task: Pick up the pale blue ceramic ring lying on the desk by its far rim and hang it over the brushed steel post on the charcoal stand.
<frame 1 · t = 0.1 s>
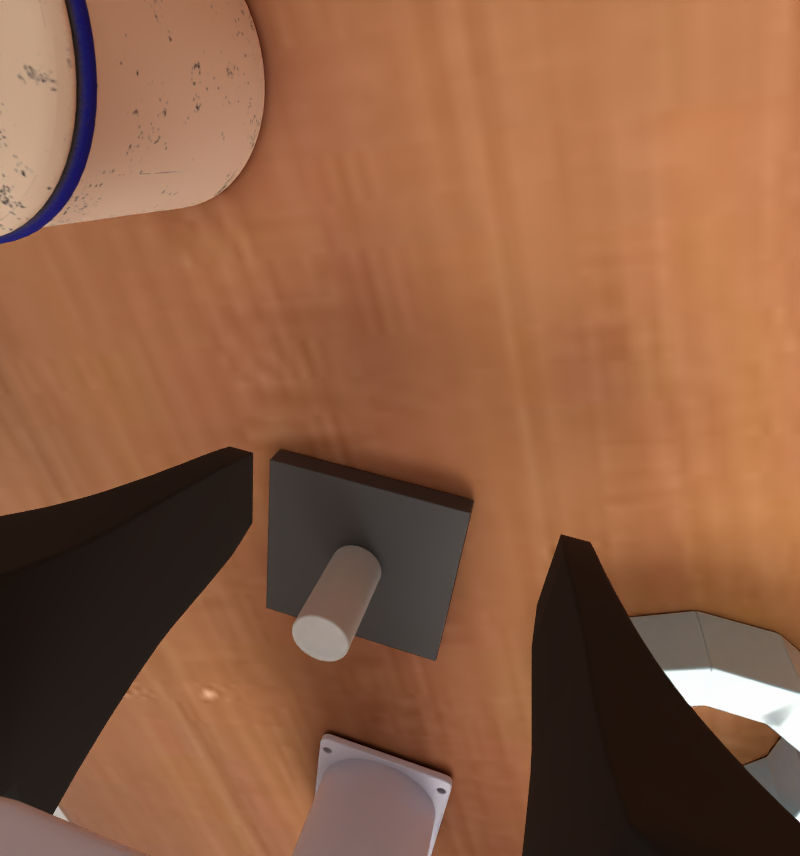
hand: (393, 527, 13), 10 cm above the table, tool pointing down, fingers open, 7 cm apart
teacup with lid: (128, 84, 20), on the table
stand: (363, 552, 27), on the table
ring: (683, 713, 26), on the table
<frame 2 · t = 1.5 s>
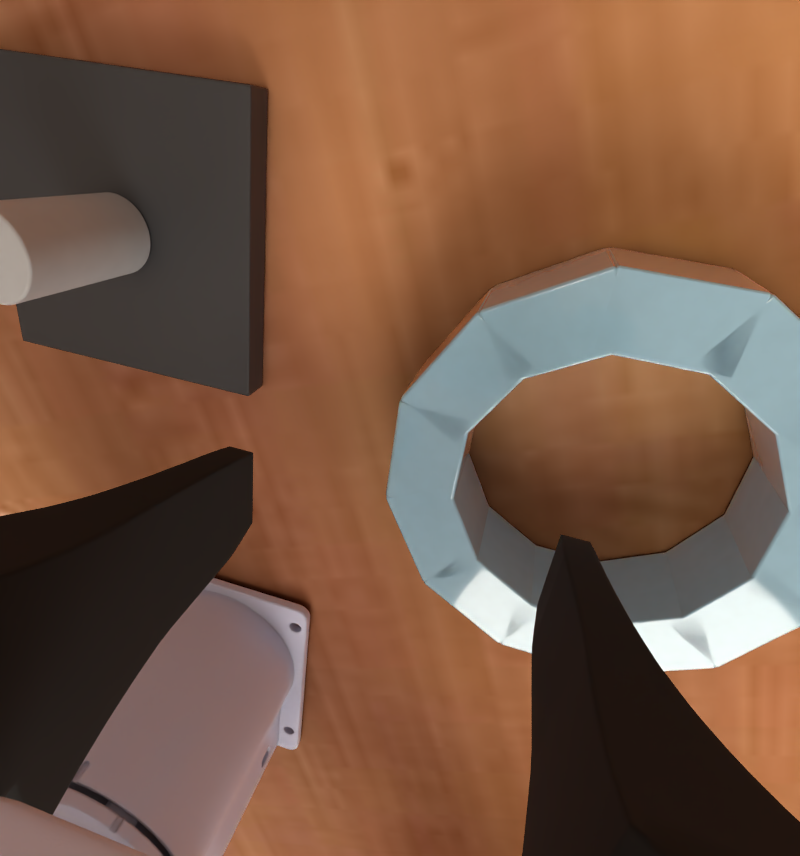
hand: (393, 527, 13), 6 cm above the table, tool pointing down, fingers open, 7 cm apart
stand: (139, 230, 18), on the table
ring: (601, 453, 17), on the table
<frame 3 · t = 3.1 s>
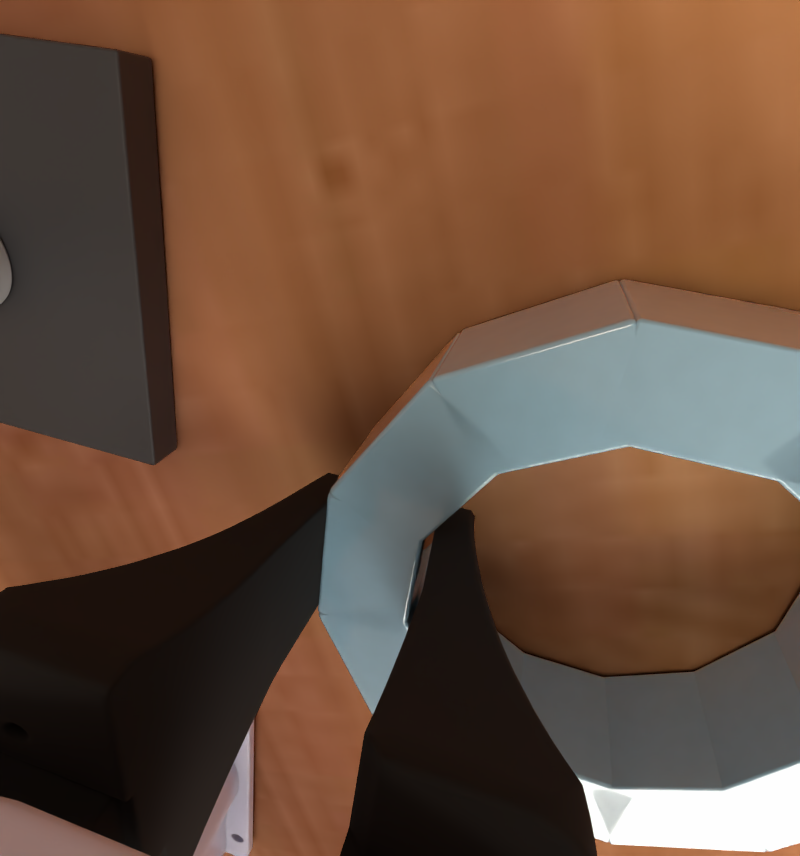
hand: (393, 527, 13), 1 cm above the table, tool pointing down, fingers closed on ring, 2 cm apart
stand: (7, 250, 14), on the table
ring: (609, 547, 13), on the table, touching gripper
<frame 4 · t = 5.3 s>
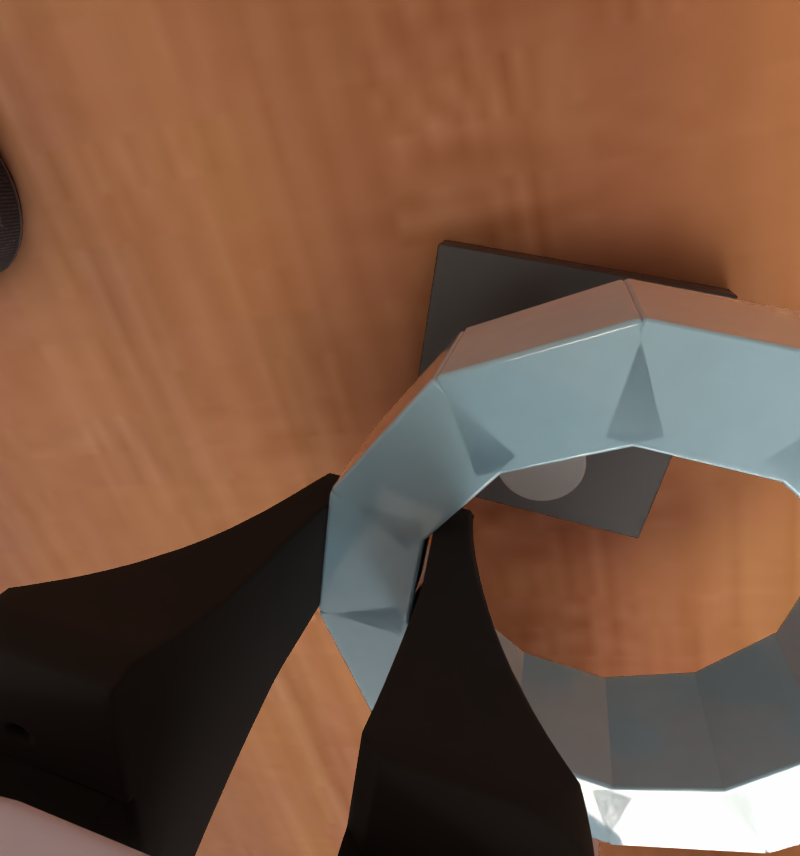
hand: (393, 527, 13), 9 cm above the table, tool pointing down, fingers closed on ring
stand: (546, 390, 20), on the table
ring: (611, 547, 13), point 8 cm above the table, touching gripper
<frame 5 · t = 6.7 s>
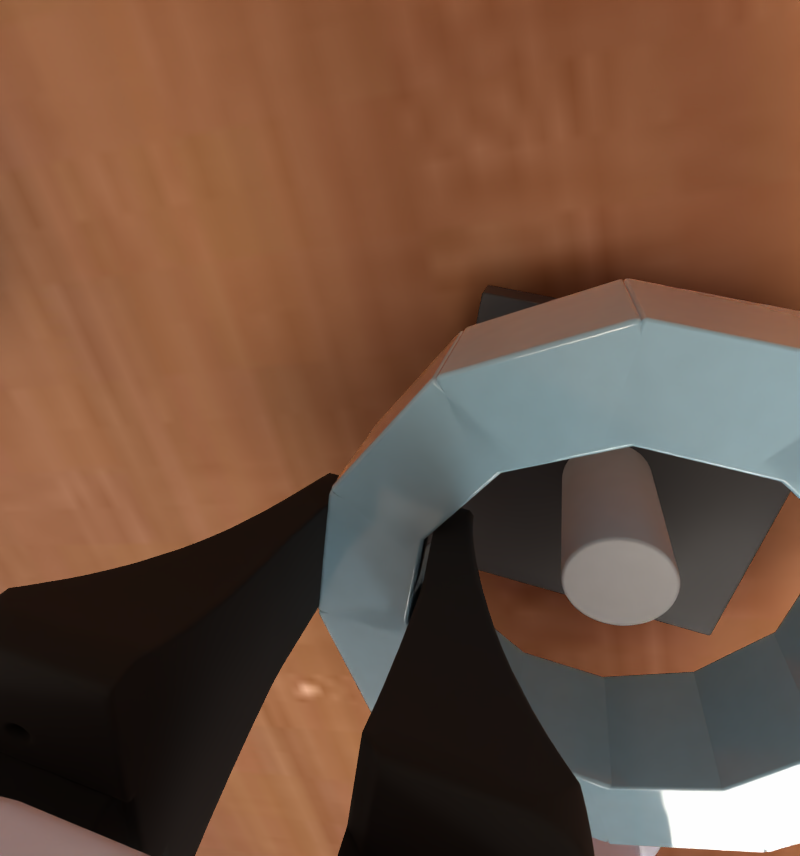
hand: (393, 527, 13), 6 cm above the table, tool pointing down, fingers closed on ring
stand: (603, 462, 17), on the table
ring: (610, 547, 13), point 4 cm above the table, touching gripper
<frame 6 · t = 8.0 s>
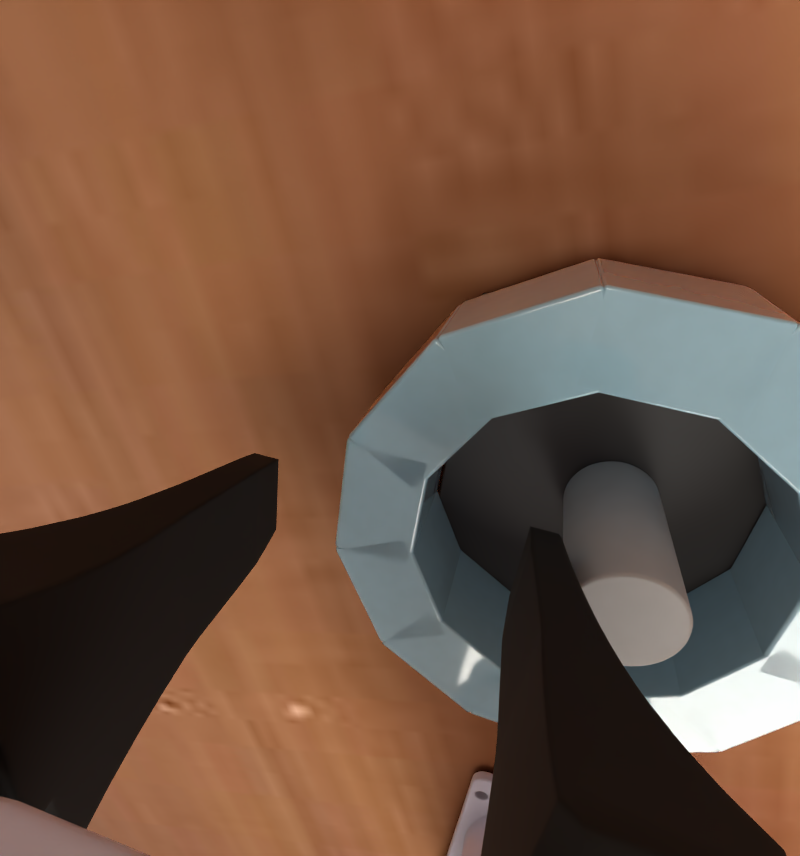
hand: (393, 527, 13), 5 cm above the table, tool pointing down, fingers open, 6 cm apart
stand: (607, 480, 16), on the table
ring: (588, 495, 15), point 1 cm above the table, touching stand
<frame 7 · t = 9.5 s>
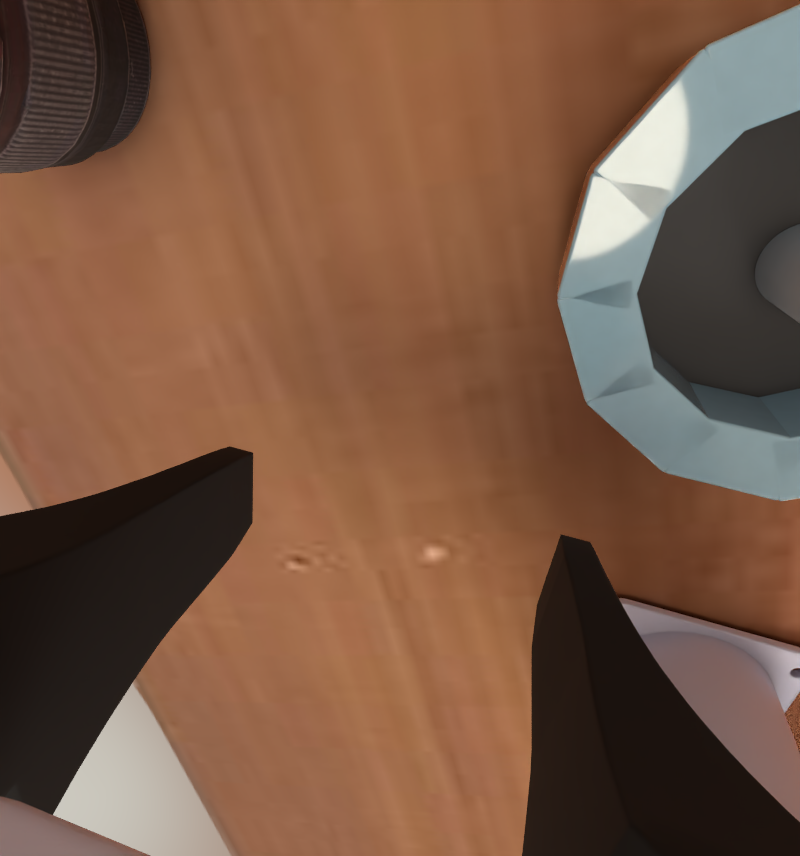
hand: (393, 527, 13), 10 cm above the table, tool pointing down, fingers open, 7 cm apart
camera lens: (73, 46, 20), on the table
stand: (789, 260, 17), on the table
ring: (780, 263, 16), point 1 cm above the table, touching stand
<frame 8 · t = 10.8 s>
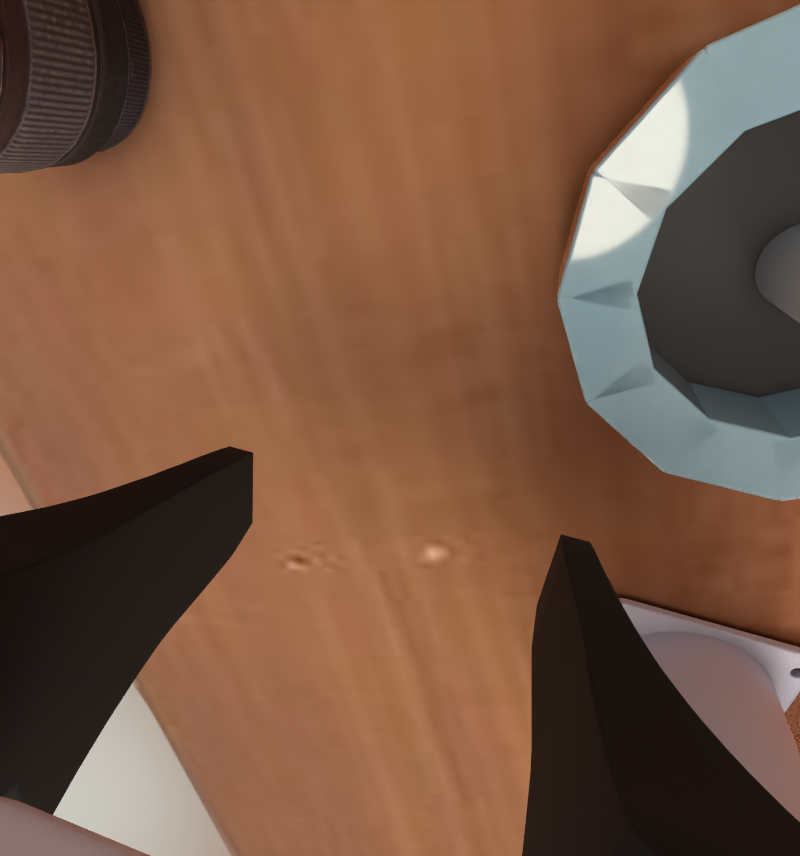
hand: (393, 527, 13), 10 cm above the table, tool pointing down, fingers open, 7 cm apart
camera lens: (73, 46, 20), on the table
stand: (789, 260, 17), on the table
ring: (780, 263, 16), point 1 cm above the table, touching stand
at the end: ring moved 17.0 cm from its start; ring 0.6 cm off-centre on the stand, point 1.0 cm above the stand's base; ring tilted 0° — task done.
